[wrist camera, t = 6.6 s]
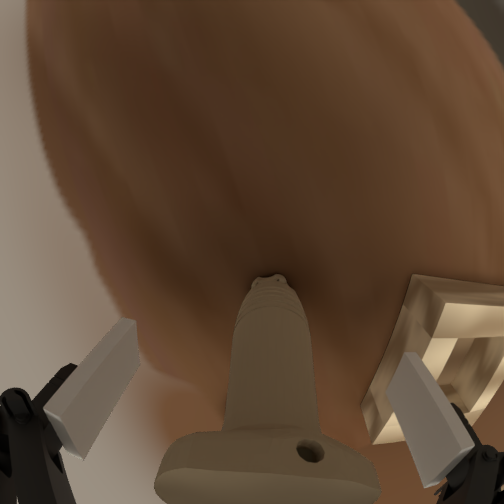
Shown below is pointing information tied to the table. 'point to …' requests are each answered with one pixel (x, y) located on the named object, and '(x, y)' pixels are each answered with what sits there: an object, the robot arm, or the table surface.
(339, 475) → the handle
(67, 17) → the table surface
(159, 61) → the table surface
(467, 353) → the socket block
